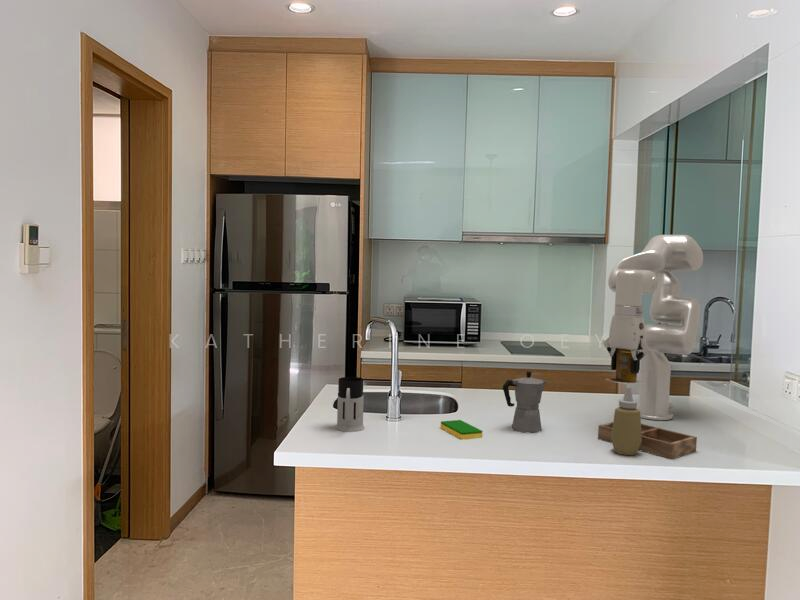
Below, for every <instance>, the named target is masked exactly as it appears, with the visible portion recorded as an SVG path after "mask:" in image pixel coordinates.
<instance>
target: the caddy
mask: <svg viewBox="0 0 800 600" xmlns="http://www.w3.org/2000/svg"><path fill="white" fill-rule="evenodd" d="M612 427H613V422H612V421H611V422H608V423H604V424H599V425H598V428H597V429H598V431H597V439H598V440H600V439H601V441H604V442H608V443H611V442H612V440H611V433H612ZM641 434H642V442H641V445H640V447H639V449H638V451H640V450H642V451H641V452H644V451H645V452H644V453H647V452H649V453H648V454H651V453H652V454H651V455H654V454H656V455H655V456H658V455H659V456H658V457H662V456H663V457H662V458H665V457H667V458H666V459H669V458H670V459H669V460H673V459H676V457H677V458H680V457H682V456H685V454H686V455H688V454H691V453H694V452H697V445H698V444H697V440H698V438H697V436H694V435H690V434H685V433H681V432H678V431H673V430H669V429H664V428H661V427H657V426H653V425H652V426H651V425H648V424H644V423H641ZM679 456H680V457H679Z"/></svg>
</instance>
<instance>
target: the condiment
mask: <svg viewBox="0 0 800 600" xmlns="http://www.w3.org/2000/svg"><path fill="white" fill-rule="evenodd" d="M632 360H633V357H632V353H631V350H626V349H618V350H617V360H616V370H615V377H614V378H611V377H610V378H605V380H606V381H609V382H614V383H618V384H623V385H626V384H627V385H628V384H637V383H639V384H640V382H643V381H640V380H637V379H638V378H637V377H638V376H637V375H638V373H635V374H632V373H631V361H632Z"/></svg>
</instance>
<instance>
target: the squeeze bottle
mask: <svg viewBox="0 0 800 600" xmlns="http://www.w3.org/2000/svg"><path fill="white" fill-rule="evenodd" d="M638 409H639V408H638V401H637V400H634V397H633V391H632V387H626V388H625V392H624V395H623V399H619V400H618V407H616V408H615V409H614V415H613V427H612V433H611V440H612V443H611V444H612V447H613V451H614V452H615V453H616V454H620V455H624V456H634V455H637V453H638V452H639V450H638V449H639V447H640V445H641V442H642V434H641V424H642V421H641V419H642V418H641V417H640V411H639V410H638Z"/></svg>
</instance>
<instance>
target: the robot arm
mask: <svg viewBox="0 0 800 600" xmlns="http://www.w3.org/2000/svg"><path fill="white" fill-rule="evenodd" d="M703 262H704V253H703V250H702V249H701V247H700V245H699V244H698V243H697V242H696V240H695V238H693V237H691V236H690V235H687V234H659V235H655V236H653V237H651V239H649V241H648V243H647V244H646V245H645V247H644V248H643V250H642V251H641V252H639V253H636V254H633V255H631V256H628V257H625V258H624V259H621V260H620V261H618V262H617V263H616V265H615V266H614V267H613V268H612V270H611V272H610V273H609V276H608V287H609V289H610V291H611V292H613V293H615V296H614V297H615V298H614V315H613V314H612V317H611V322H610V325H609V334H608V335H609V336H608V337H607V339H606V340H604V341H603V343H602V344H603V346H604V347H605V348H606V351H607V352H608V354H609V357H611V359H610V366H611V367H610V368H611V369H610V370H611V371H616V360H617V350H618V349H626V350H631V353H632V357H633V360H632V361H631V373H632V374H635V373H637V374H639V373H640V374H639V381H643V382H639V393H638V408H637V409H638V410H639V411H640V417H641V419H646V420H653V421H667V420H672V419H673V418H674V414H673V413H671V412H669V411H670V409H673V408H674V407H675V405H674V403H673V402H670V390H671V389H670V387H671V373H672V372H671V371H672V369H671V364H670V361H669V360H668V357H667V356H666V354H673V355H681V356H682V355H683V356H684V355H686V356H688V355H690V354H692V352H693V351H694V349H695V345H696V340H697V336H698V331H699V325H700V321H701V320H700V319H701V305H700V303H699V301H698V300H697V299H696V298H694V297H688V296H680V295H681V290H682V285H681V283H680V280H678V278H677V277H676V276H675V275H674V274H673V272H672V271H676V272H677V271H678V272H681V271H682V272H683V271H685V272H692V271H694V272H695V271H697V270H699V269H700V268H701V267H702V266H703ZM652 293H653V294H652ZM651 294H652V298H651V303H650V308H649V317H650V319H651V321H653V322H656V323H648V324H645V319H644V318H645V317H644V316H643V317H642V314H645V309H644V308H643V307H642V302H643V295H646V296H647V295H651Z"/></svg>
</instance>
